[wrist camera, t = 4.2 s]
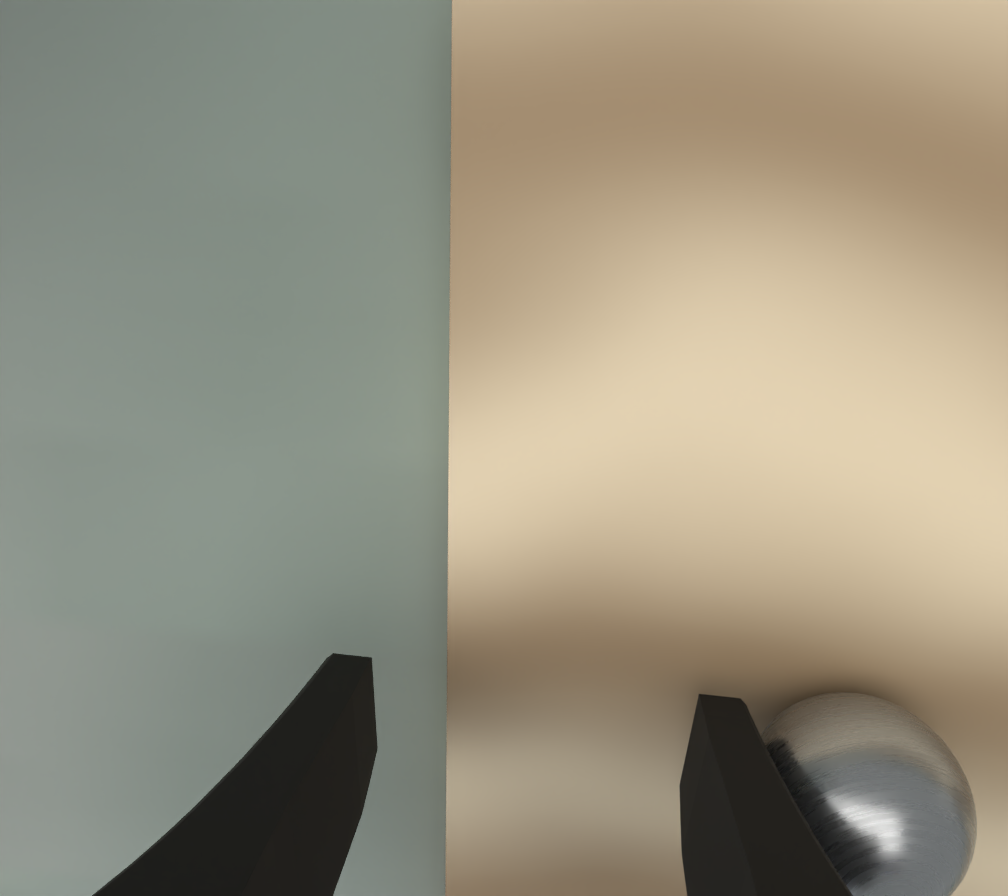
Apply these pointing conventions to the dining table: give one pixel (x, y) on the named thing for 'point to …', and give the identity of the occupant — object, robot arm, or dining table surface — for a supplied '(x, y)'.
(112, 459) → the dining table surface
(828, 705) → the steel ball
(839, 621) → the birch board
